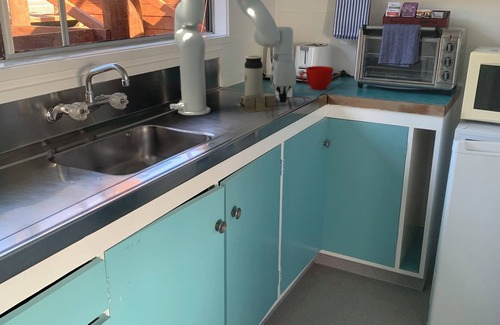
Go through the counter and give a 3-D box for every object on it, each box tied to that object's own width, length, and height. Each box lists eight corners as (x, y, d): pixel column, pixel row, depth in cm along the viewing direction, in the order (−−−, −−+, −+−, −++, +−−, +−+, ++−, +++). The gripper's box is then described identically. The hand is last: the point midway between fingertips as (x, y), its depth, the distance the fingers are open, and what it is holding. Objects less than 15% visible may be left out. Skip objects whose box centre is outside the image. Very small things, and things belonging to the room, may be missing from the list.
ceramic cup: (293, 88, 245) (293, 67, 242) (322, 85, 252) (323, 65, 249) (307, 93, 234) (307, 71, 231) (337, 89, 241) (338, 68, 238)
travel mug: (263, 94, 231) (263, 55, 225) (261, 98, 224) (261, 57, 218) (246, 94, 232) (245, 55, 226) (244, 98, 224) (243, 57, 219)
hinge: (249, 112, 199) (249, 100, 197) (236, 106, 210) (235, 94, 208) (280, 108, 204) (280, 96, 203) (266, 102, 215) (266, 91, 214)
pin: (245, 107, 203) (245, 99, 202) (242, 106, 206) (241, 98, 205) (279, 103, 209) (279, 96, 208) (276, 102, 212) (276, 94, 211)
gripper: (271, 60, 199) (271, 105, 205) (303, 58, 205) (302, 102, 211) (262, 58, 206) (262, 102, 212) (294, 55, 212) (293, 98, 218)
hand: (282, 102), depth 211 cm, fingers closed
